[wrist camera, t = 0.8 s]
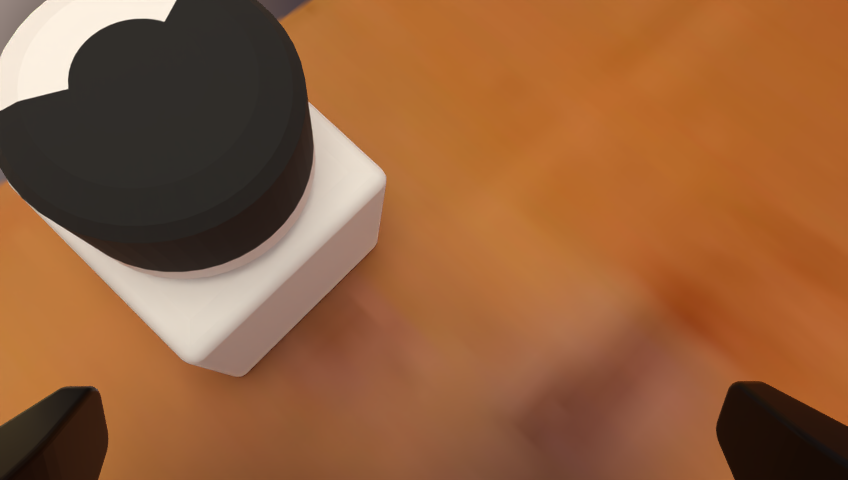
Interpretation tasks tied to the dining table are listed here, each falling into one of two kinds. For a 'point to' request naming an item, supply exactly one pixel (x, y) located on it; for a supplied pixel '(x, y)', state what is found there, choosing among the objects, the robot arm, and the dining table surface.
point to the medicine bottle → (186, 166)
